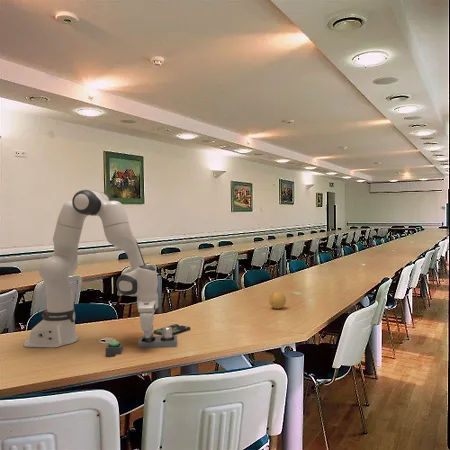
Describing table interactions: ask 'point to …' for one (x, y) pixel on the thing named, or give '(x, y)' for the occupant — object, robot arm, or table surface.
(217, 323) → the table surface
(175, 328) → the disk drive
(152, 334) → the billet
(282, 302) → the stress ball
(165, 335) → the billet
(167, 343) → the block
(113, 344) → the button
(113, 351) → the button housing
